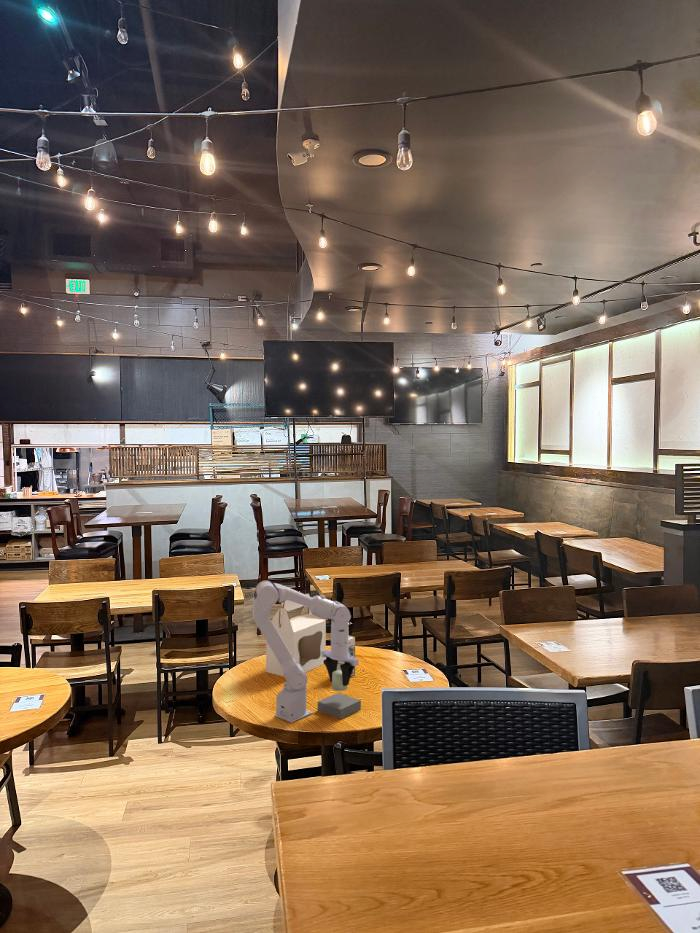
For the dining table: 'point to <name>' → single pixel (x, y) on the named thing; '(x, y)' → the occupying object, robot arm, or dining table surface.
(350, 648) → the syrup box
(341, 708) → the charcoal plinth
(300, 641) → the gable box
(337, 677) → the green cylinder
